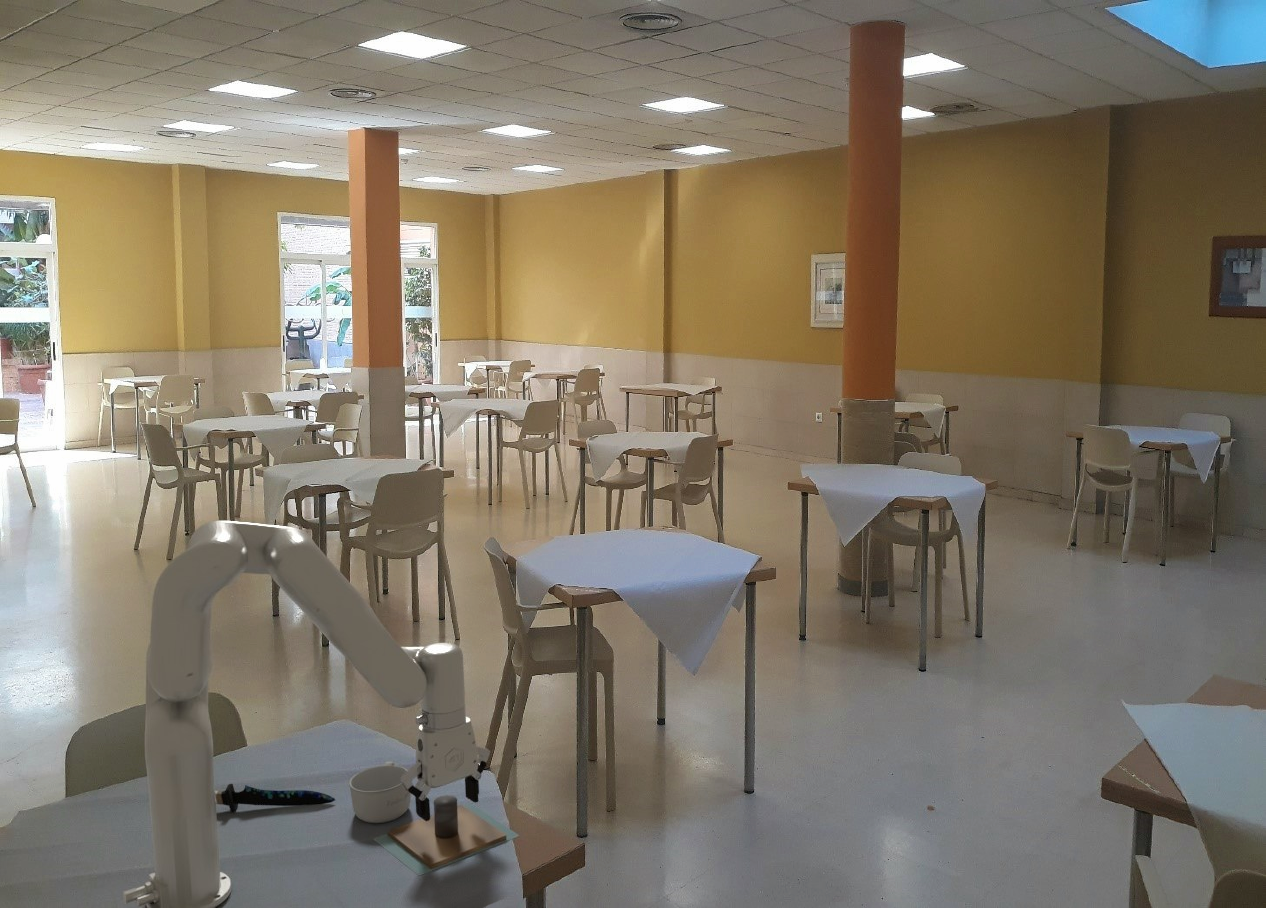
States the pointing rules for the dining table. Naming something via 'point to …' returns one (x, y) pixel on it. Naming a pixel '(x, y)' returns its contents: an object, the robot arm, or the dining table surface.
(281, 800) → the knife
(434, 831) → the lid
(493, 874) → the dining table surface
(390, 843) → the mat
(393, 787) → the teacup
